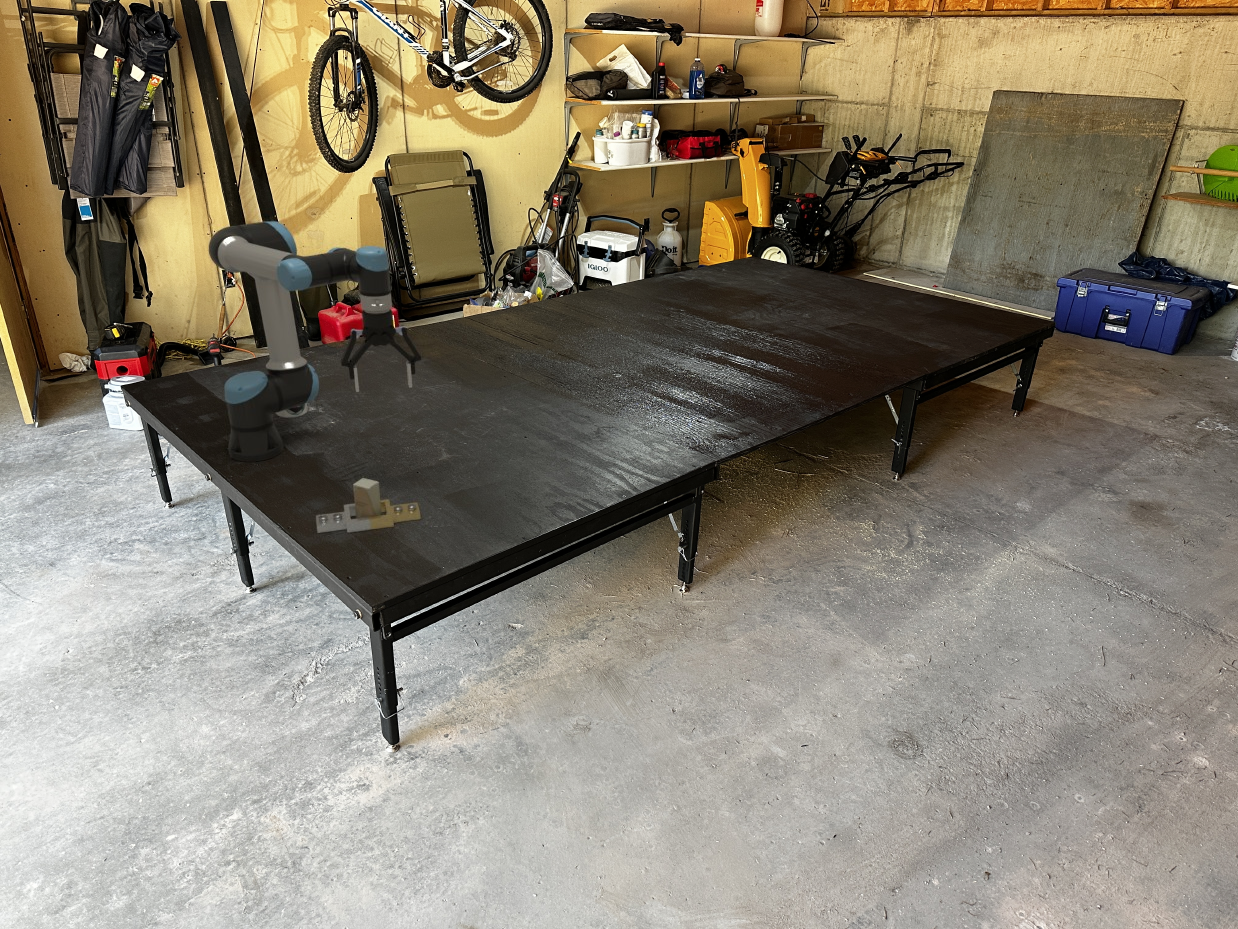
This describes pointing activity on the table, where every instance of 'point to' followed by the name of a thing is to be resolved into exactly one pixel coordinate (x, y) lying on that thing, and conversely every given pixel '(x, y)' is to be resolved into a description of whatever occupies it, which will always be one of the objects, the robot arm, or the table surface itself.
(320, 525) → the link
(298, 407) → the mug
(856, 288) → the table surface
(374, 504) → the box
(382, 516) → the link
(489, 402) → the table surface
